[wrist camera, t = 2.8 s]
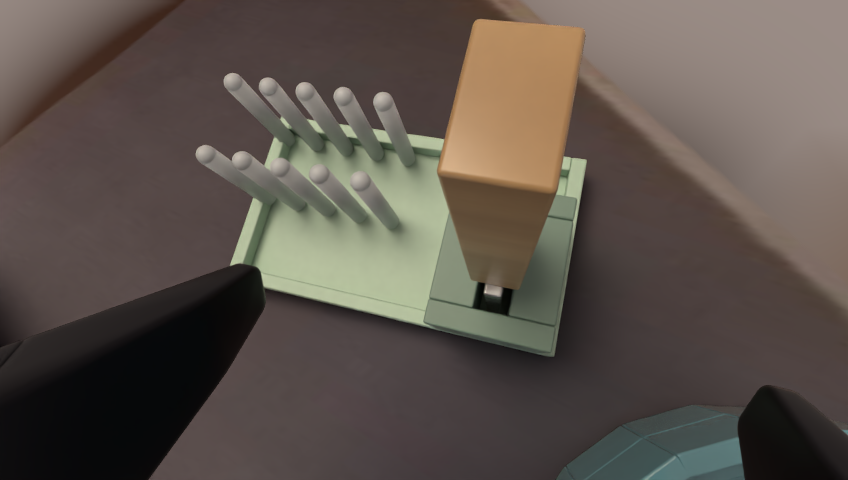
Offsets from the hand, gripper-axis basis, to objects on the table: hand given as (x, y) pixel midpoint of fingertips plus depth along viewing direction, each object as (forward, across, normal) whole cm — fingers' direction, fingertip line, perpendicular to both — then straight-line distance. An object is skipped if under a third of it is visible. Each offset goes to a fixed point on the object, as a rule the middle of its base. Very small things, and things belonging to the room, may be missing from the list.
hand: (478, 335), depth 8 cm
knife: (+9, 0, +5) cm, 10 cm away
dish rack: (+10, +4, +4) cm, 12 cm away
